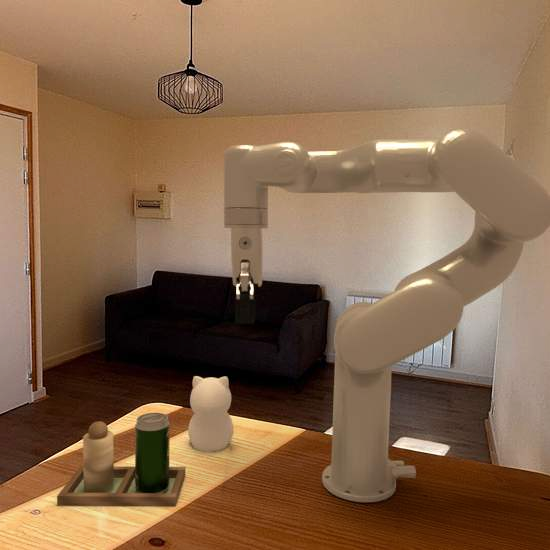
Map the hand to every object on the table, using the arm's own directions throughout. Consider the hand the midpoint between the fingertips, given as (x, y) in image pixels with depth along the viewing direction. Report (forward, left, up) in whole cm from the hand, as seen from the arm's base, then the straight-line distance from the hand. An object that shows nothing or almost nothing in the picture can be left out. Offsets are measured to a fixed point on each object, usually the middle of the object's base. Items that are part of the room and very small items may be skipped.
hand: (245, 318), depth 86 cm
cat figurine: (+7, -11, -28) cm, 31 cm away
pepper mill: (+23, +8, -27) cm, 37 cm away
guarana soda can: (+15, +8, -27) cm, 32 cm away
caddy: (+19, +8, -28) cm, 35 cm away
